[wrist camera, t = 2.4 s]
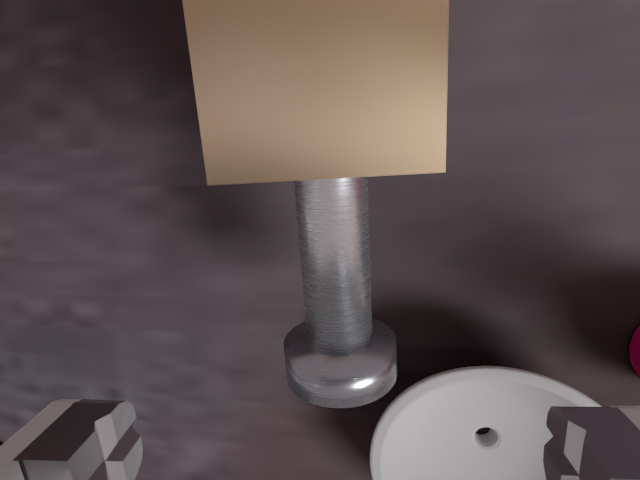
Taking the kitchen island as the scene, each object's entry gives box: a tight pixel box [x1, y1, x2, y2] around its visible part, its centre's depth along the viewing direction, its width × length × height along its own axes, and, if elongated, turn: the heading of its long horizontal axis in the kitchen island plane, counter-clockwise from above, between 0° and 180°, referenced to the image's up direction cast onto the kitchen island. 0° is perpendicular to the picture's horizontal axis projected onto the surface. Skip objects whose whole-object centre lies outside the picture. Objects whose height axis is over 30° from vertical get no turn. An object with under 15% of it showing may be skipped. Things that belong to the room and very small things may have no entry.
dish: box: [370, 366, 602, 480], centre depth 25 cm, size 18×14×5 cm
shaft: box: [284, 177, 397, 408], centre depth 14 cm, size 25×5×5 cm, turn 4°
